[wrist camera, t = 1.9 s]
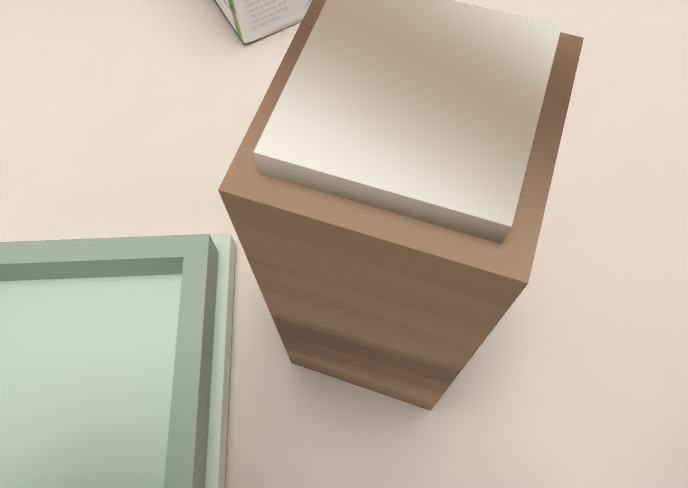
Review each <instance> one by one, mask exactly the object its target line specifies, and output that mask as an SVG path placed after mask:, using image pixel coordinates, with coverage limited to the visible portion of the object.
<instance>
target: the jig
mask: <svg viewBox="0 0 688 488" xmlns="http://www.w3.org/2000/svg"><path fill="white" fill-rule="evenodd" d="M235 253H236V245H235V242H234V240H233V238H232V236H231V234H220V235H210V234H199V235H173V236H147V237H122V238H96V239H71V240H45V241H20V242H0V488H225V470H226V449H227V427H228V405H229V383H230V362H231V340H232V318H233V296H234V274H235Z"/></svg>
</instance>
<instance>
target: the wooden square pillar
mask: <svg viewBox="0 0 688 488" xmlns="http://www.w3.org/2000/svg"><path fill="white" fill-rule="evenodd" d="M561 27H562V26H559V25H555V24H551V23H546V22H542V21H538V20H534V19H529V18H525V17H521V16H516V15H512V14H508V13H504V12H499V11H495V10H491V9H486V8H482V7H478V6H473V5H469V4H465V3H461V2H456V1H452V0H312V2H311V4H310V6H309V8H308V10H307V12H306V14H305V16H304V18H303V20H302V22H301V24H300V26H299V28H298V30H297V32H296V34H295V36H294V38H293V40H292V42H291V44H290V46H289V48H288V50H287V52H286V54H285V56H284V58H283V60H282V62H281V64H280V66H279V68H278V70H277V72H276V74H275V76H274V78H273V80H272V82H271V85H270V87H269V89H268V91H267V93H266V95H265V97H264V99H263V101H262V103H261V105H260V107H259V109H258V111H257V113H256V115H255V117H254V119H253V121H252V123H251V125H250V127H249V129H248V131H247V133H246V135H245V137H244V139H243V141H242V143H241V145H240V147H239V149H238V151H237V153H236V155H235V157H234V159H233V161H232V163H231V165H230V167H229V169H228V171H227V173H226V175H225V177H224V179H223V181H222V183H221V185H220V187H219V189H218V190H219V193H220V195H221V198H222V200H223V202H224V205H225V207H226V209H227V212H228V214H229V216H230V219H231V221H232V223H233V226H234V228H235V231H236V233H237V235H238V238H239V240H240V242H241V245H242V247H243V249H244V252H245V254H246V257H247V259H248V261H249V264H250V266H251V268H252V271H253V273H254V275H255V278H256V280H257V282H258V285H259V287H260V290H261V292H262V294H263V297H264V299H265V301H266V304H267V306H268V308H269V311H270V313H271V316H272V318H273V320H274V323H275V325H276V327H277V330H278V332H279V334H280V337H281V339H282V341H283V344H284V346H285V349H286V351H287V353H288V356H289V358H290V360H291V363H294V364H297V365H300V366H303V367H306V368H308V369H311V370H314V371H317V372H320V373H323V374H326V375H329V376H332V377H335V378H338V379H341V380H343V381H346V382H349V383H352V384H355V385H358V386H361V387H364V388H367V389H370V390H373V391H376V392H378V393H381V394H384V395H387V396H390V397H393V398H396V399H399V400H402V401H405V402H408V403H411V404H413V405H416V406H419V407H422V408H425V409H428V410H431V409H432V408H433V406H434V405H435V404H436V403H437V401H438V400H439V399H440V397H441V396H442V395H443V393H444V392H445V391H446V390H447V388H448V387H449V386H450V384H451V383H452V382H453V380H454V379H455V378H456V376H457V375H458V374H459V373H460V371H461V370H462V369H463V367H464V366H465V365H466V363H467V362H468V361H469V360H470V358H471V357H472V356H473V354H474V353H475V352H476V350H477V349H478V348H479V346H480V345H481V344H482V343H483V341H484V340H485V339H486V337H487V336H488V335H489V333H490V332H491V331H492V330H493V328H494V327H495V326H496V324H497V323H498V322H499V320H500V319H501V318H502V316H503V315H504V314H505V313H506V311H507V310H508V309H509V307H510V306H511V305H512V303H513V302H514V301H515V300H516V298H517V297H518V296H519V294H520V293H521V292H522V290H523V289H524V288H525V287H526V285H527V284H528V281H529V277H530V272H531V268H532V263H533V259H534V254H535V250H536V246H537V241H538V237H539V232H540V228H541V224H542V219H543V215H544V210H545V206H546V202H547V197H548V193H549V188H550V184H551V180H552V175H553V171H554V166H555V162H556V158H557V153H558V149H559V144H560V140H561V136H562V131H563V127H564V122H565V118H566V114H567V109H568V105H569V100H570V96H571V92H572V87H573V83H574V78H575V74H576V69H577V65H578V61H579V56H580V52H581V47H582V43H583V39H584V38H582V37H578V36H574V35H569V34H565V33H561V32H560V31H561Z"/></svg>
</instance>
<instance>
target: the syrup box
mask: <svg viewBox="0 0 688 488" xmlns="http://www.w3.org/2000/svg"><path fill="white" fill-rule="evenodd" d="M215 2H216V3H217V5H218V6H219V8H220V9H221V11H222V12H223V14H224V15H225V16H226V18H227V19H228V21H229V23H230V24H231V26H232V27H233V29H234V30H235V32H236V33H237V35H238V36H239V38H240V39H241V40H242V42H244V43H249V42H252V41H255V40H257V39H260V38H262V37H265V36H267V35H270V34H272V33H275V32H277V31H279V30H282V29H284V28H286V27H288V26H290V25H293V24H295V23H298V22H300V21H302V20H303V18H304V16H305V14H306V12H307V10H308V8H309V6H310V4H311V2H312V0H215Z"/></svg>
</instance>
